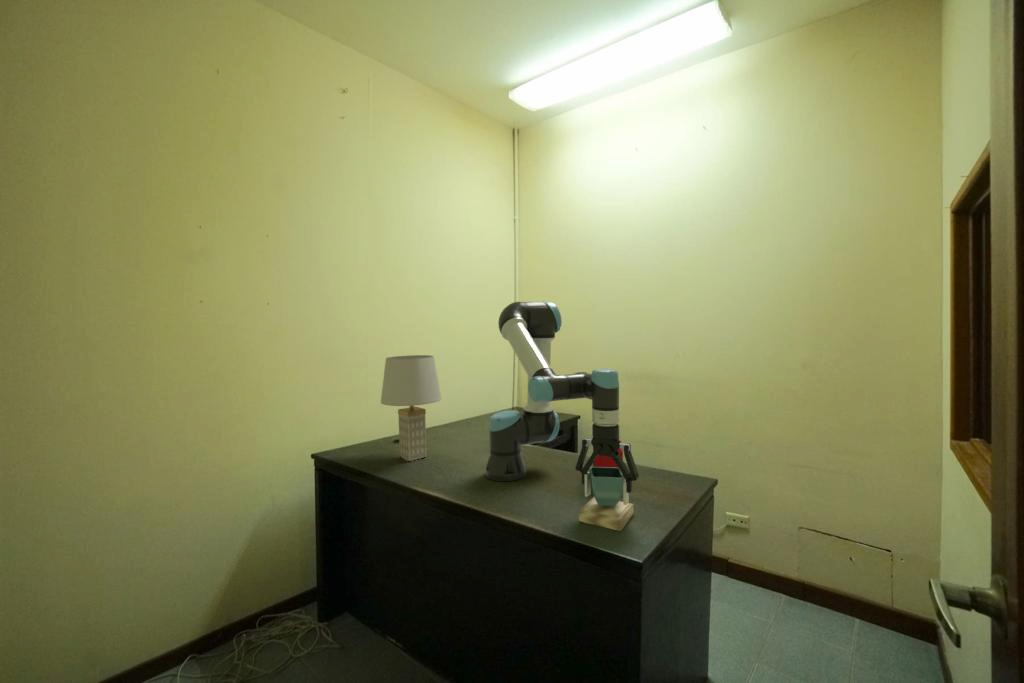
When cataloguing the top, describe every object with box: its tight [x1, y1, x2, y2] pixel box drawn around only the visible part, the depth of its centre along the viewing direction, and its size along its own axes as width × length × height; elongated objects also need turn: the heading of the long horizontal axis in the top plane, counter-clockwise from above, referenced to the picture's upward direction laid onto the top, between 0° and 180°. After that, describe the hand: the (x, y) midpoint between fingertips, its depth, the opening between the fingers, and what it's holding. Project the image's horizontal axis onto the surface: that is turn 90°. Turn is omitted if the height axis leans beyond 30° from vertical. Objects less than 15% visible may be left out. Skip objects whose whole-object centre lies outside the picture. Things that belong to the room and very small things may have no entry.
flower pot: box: [589, 466, 625, 506], centre depth 124 cm, size 9×9×9 cm
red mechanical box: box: [592, 439, 624, 468], centre depth 153 cm, size 16×10×20 cm, turn 168°
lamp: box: [380, 354, 442, 460], centre depth 183 cm, size 25×25×44 cm
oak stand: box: [578, 496, 635, 532], centre depth 124 cm, size 12×12×3 cm
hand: (606, 499), depth 124 cm, fingers closed on flower pot, 11 cm apart
